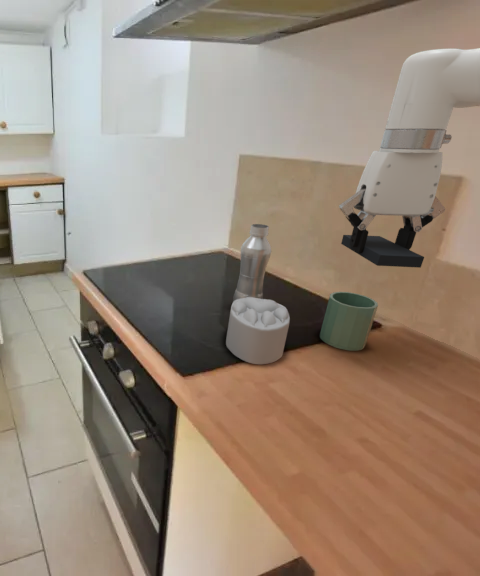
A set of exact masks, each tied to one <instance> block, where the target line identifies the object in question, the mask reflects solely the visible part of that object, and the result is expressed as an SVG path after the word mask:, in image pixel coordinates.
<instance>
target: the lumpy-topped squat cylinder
mask: <svg viewBox="0 0 480 576" xmlns="http://www.w3.org/2000/svg"><path fill="white" fill-rule="evenodd" d="M290 321H291V318H290V313H289V311H288V309H287V307H286V306H284V305H282V304H280V303H278V302H276V301H275V300H273V299H266V298H263V299H258V298H253V297H247V298H241V299H237V300H235V301H234V302H233V301H232V304H231V306H230V312H229V319H228V325H227V331H226V339H225V345H226V346H225V347H226V348H227V349H228V350H229V351H230V352H231V353H232V355H234V356H235V357H236V358H239V359H240V360H242V361H244V362H246V363H249V364H253V365H267V364H272V363H275V362H277V361H278V360H280V359H281V358H282V357H283V355H284V350H285V345H286V341H287V336H288V333H289V326H290Z"/></svg>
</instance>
